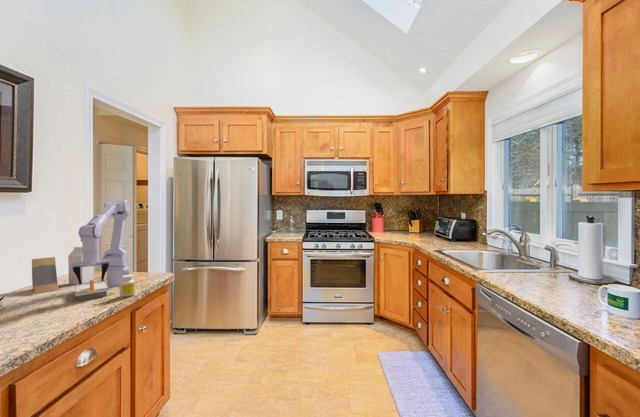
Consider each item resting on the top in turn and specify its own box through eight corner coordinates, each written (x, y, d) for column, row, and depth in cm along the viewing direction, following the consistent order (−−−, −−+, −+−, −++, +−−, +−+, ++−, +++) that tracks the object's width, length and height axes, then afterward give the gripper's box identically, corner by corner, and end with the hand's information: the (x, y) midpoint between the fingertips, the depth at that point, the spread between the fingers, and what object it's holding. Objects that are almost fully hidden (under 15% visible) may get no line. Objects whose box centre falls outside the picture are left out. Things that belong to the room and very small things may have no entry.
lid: (105, 283, 139) (105, 273, 138) (108, 291, 126) (108, 280, 125) (75, 288, 131) (74, 277, 131) (75, 297, 118) (75, 285, 118)
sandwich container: (33, 296, 129) (32, 263, 129) (32, 289, 140) (31, 259, 139) (59, 291, 135) (58, 260, 135) (56, 285, 146) (55, 256, 145)
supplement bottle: (137, 296, 128) (137, 275, 128) (124, 300, 123) (124, 277, 123) (130, 294, 130) (129, 273, 130) (117, 298, 125) (116, 276, 125)
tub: (104, 289, 138) (103, 282, 138) (106, 297, 127) (106, 289, 127) (76, 294, 131) (76, 286, 131) (77, 302, 121) (77, 294, 121)
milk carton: (82, 284, 146) (81, 248, 146) (68, 284, 146) (67, 248, 146) (93, 281, 153) (92, 246, 153) (80, 281, 153) (79, 246, 153)
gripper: (68, 255, 118) (69, 287, 118) (112, 251, 127) (112, 281, 127) (69, 252, 123) (69, 284, 123) (110, 249, 132) (111, 278, 133)
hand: (91, 282), depth 126 cm, fingers open, 7 cm apart
